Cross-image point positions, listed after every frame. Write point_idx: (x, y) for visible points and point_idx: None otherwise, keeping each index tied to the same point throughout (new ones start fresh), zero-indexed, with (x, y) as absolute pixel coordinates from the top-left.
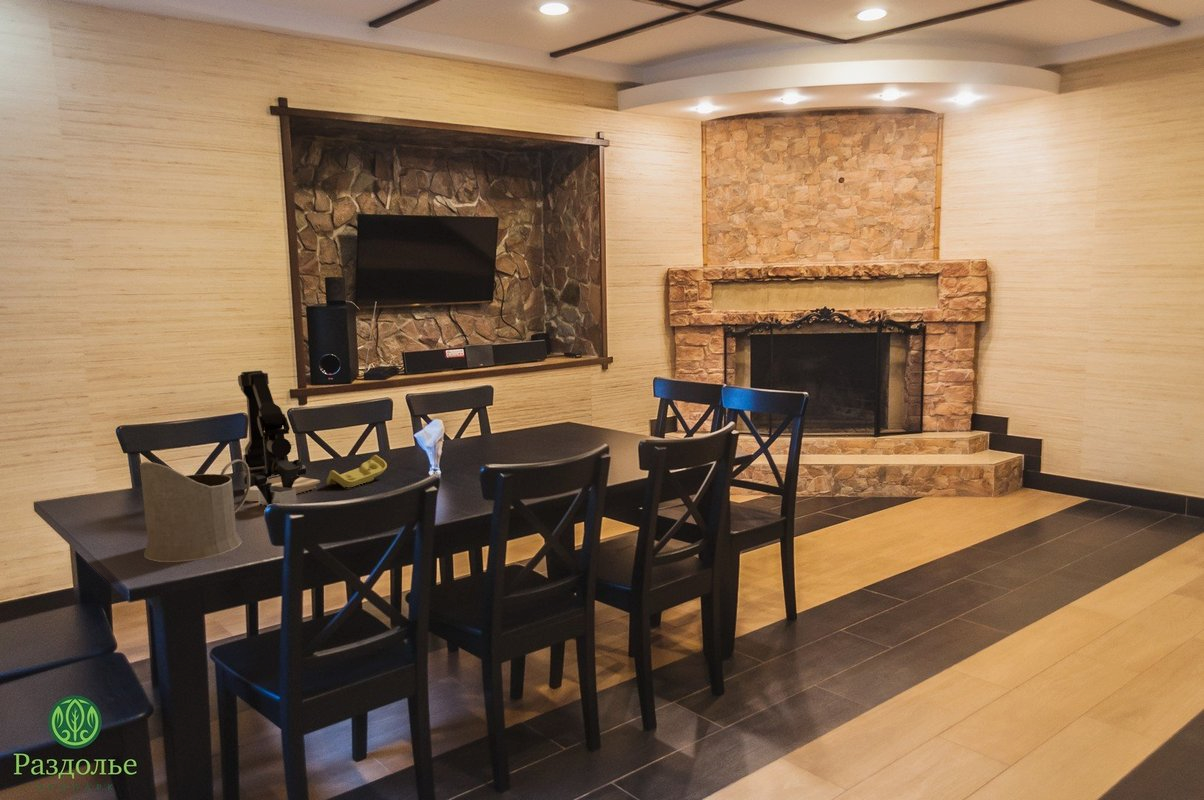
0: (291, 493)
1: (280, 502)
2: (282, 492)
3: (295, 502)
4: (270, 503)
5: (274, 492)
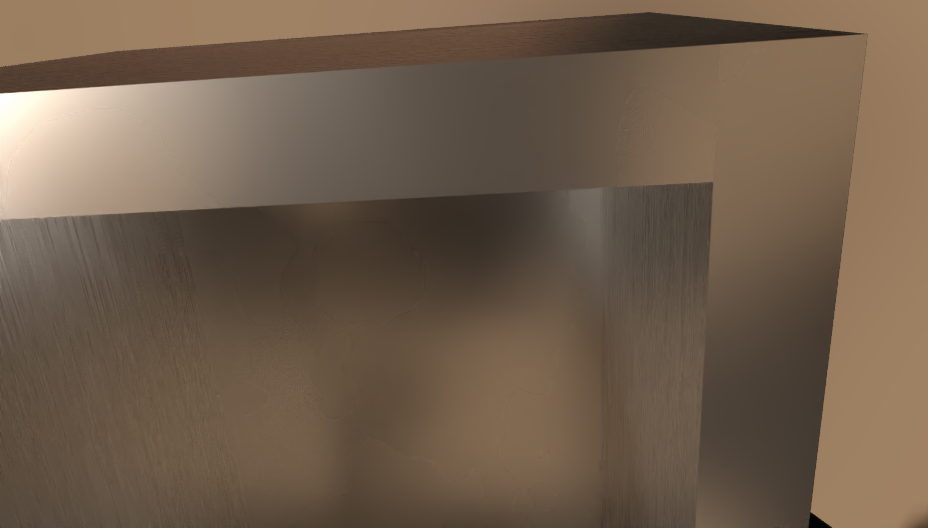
0: (55, 73)
1: (676, 20)
2: (590, 56)
3: (128, 51)
4: None
5: (811, 477)
